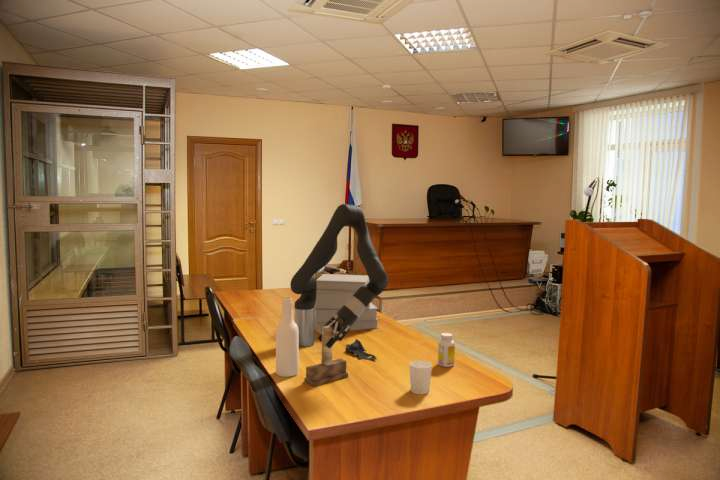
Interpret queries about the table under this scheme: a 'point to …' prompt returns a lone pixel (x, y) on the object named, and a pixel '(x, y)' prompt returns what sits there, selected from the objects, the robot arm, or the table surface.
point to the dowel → (326, 352)
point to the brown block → (326, 373)
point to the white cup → (420, 377)
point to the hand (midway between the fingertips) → (323, 343)
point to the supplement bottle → (446, 350)
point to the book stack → (341, 300)
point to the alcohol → (287, 342)
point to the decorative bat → (359, 350)
